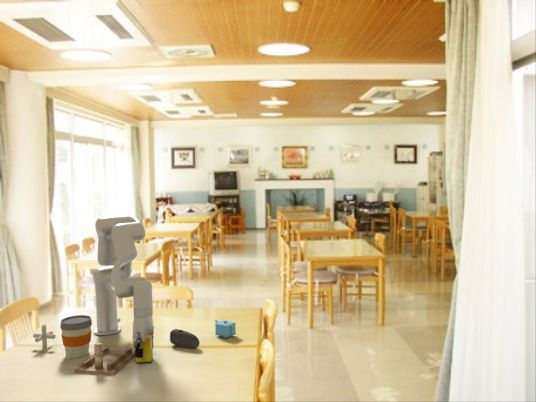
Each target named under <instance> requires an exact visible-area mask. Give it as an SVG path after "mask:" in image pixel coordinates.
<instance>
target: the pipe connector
mask: <svg viewBox="0 0 536 402" xmlns="http://www.w3.org/2000/svg"><path fill="white" fill-rule="evenodd" d="M32 337H33V338H34V341H35V342H36V343H39V342H40V341H41V342H42V344H41V345H42V349H46V348H48V341H47V339H50V340H51V339H53V340H55V339H56V334H54V331H53V330H50V331H47V324H42V325H41V333H33V334H32Z"/></svg>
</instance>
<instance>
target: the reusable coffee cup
mask: <svg viewBox="0 0 536 402" xmlns="http://www.w3.org/2000/svg"><path fill="white" fill-rule="evenodd" d="M92 325H93V321H92V316H90V315H86V314H84V315H83V314H82V315H81V314H80V315H72V316H71V315H70V316H67V317H64V318H62V319H61V321H60V326H59V327H60V330H61V339H62V340H61V341H62V345H63V346H64V351H65V356H66V357H67V358H70V359H77V358H82V357H85V356H88V354H89V351H90V343H91V341H92V329H91V328H92Z"/></svg>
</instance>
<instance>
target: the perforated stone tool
mask: <svg viewBox="0 0 536 402" xmlns="http://www.w3.org/2000/svg"><path fill="white" fill-rule="evenodd" d="M169 341H170V344H172V345H174V346H176V347H180V348H188V349H196V348H198V347H200V345H201V344H200V339H199V338H198V337H197V336H196V335H195V334H193V333H191V332H190V331H187V330H183V329H178V328H175V329H172V330H171V331H170V333H169Z"/></svg>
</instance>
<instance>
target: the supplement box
mask: <svg viewBox="0 0 536 402" xmlns="http://www.w3.org/2000/svg"><path fill="white" fill-rule="evenodd" d="M138 340H142V339H138ZM138 343H139V344H140V343H141V342H138ZM142 348H143V358H136V357H135V358H136V359H135V362H136V365H143V364H152V362H153V359H154V341H153V342H152V334H150V335H149V336H147V337H146V341H145V342H143V345H142Z"/></svg>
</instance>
